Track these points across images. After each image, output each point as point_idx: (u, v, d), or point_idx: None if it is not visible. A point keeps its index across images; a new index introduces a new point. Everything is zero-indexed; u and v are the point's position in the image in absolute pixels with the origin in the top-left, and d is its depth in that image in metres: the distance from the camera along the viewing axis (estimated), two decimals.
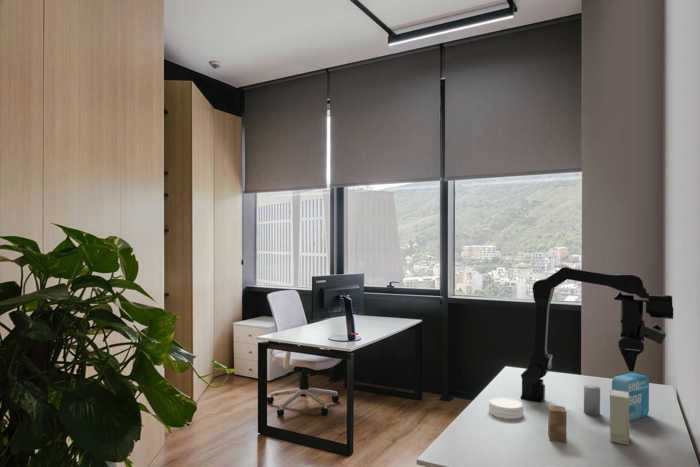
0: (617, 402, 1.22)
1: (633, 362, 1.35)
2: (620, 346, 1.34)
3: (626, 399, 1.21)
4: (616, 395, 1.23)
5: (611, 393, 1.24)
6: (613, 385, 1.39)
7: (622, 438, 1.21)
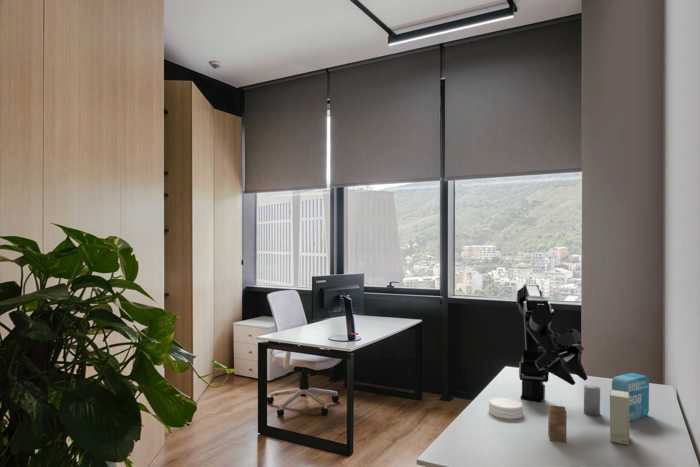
0: (617, 402, 1.22)
1: (566, 374, 1.31)
2: (538, 368, 1.33)
3: (626, 399, 1.21)
4: (616, 395, 1.23)
5: (611, 393, 1.24)
6: (613, 385, 1.39)
7: (622, 438, 1.21)
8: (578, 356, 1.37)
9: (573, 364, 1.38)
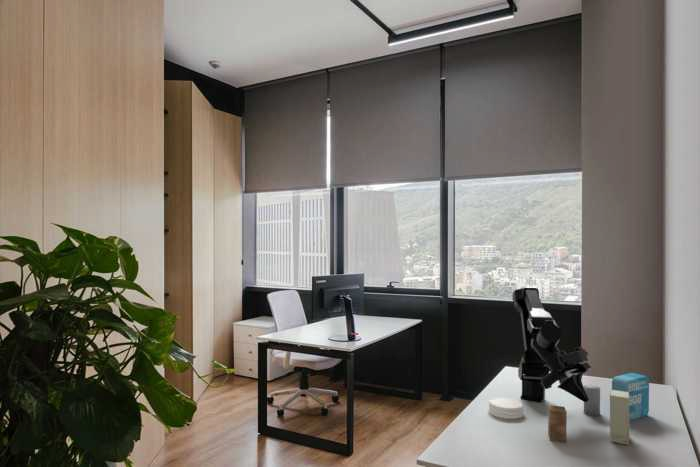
0: (617, 402, 1.22)
1: (579, 391, 1.31)
2: (545, 387, 1.31)
3: (626, 399, 1.21)
4: (616, 395, 1.23)
5: (611, 393, 1.24)
6: (613, 385, 1.39)
7: (622, 438, 1.21)
8: (579, 376, 1.34)
9: None
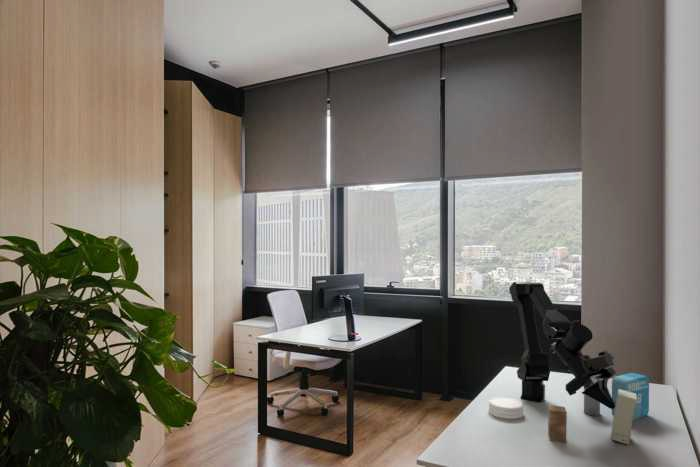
0: (624, 402, 1.21)
1: (605, 398, 1.26)
2: (569, 393, 1.25)
3: (634, 400, 1.20)
4: (624, 395, 1.22)
5: (619, 392, 1.23)
6: (613, 385, 1.39)
7: (623, 437, 1.21)
8: (604, 382, 1.28)
9: None
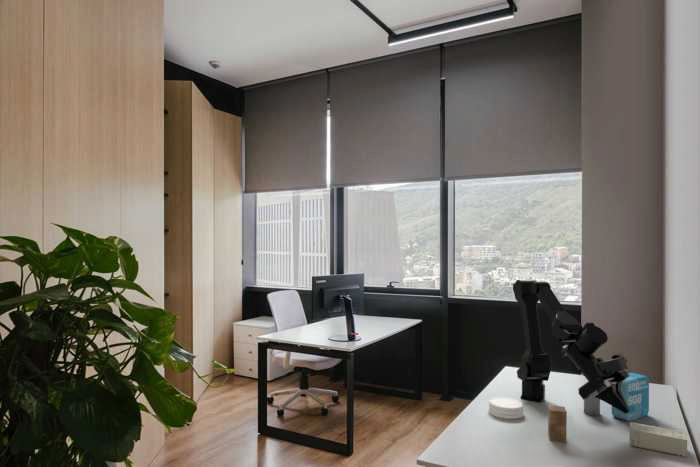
0: (679, 445, 1.15)
1: (619, 402, 1.23)
2: (582, 397, 1.23)
3: (685, 455, 1.14)
4: (686, 444, 1.15)
5: (686, 438, 1.16)
6: None
7: (636, 441, 1.19)
8: (618, 386, 1.25)
9: None
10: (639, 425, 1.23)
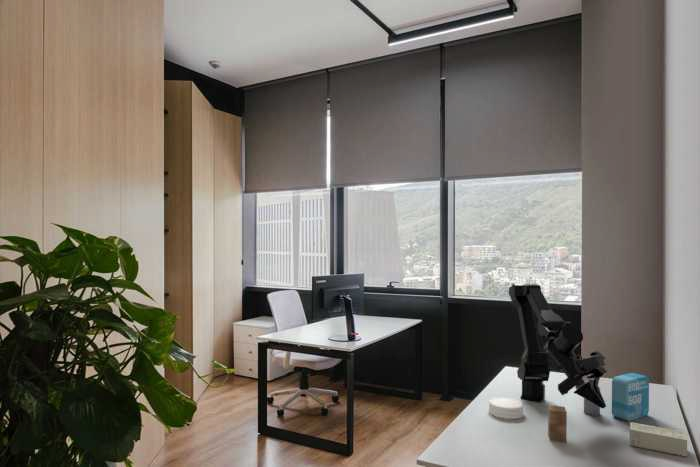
0: (679, 445, 1.15)
1: (596, 397, 1.28)
2: (561, 393, 1.27)
3: (685, 455, 1.14)
4: (686, 444, 1.15)
5: (686, 438, 1.16)
6: (613, 385, 1.39)
7: (636, 441, 1.19)
8: (596, 382, 1.30)
9: None
10: (639, 425, 1.23)
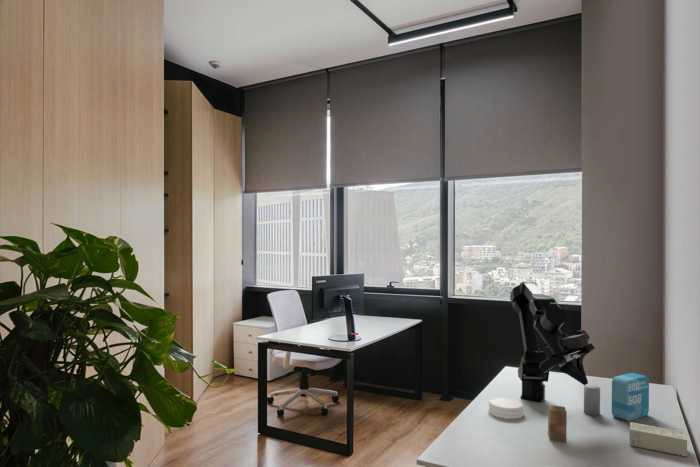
0: (679, 445, 1.15)
1: (578, 375, 1.32)
2: (542, 371, 1.33)
3: (685, 455, 1.14)
4: (686, 444, 1.15)
5: (686, 438, 1.16)
6: (613, 385, 1.39)
7: (636, 441, 1.19)
8: (579, 359, 1.34)
9: None
10: (639, 425, 1.23)
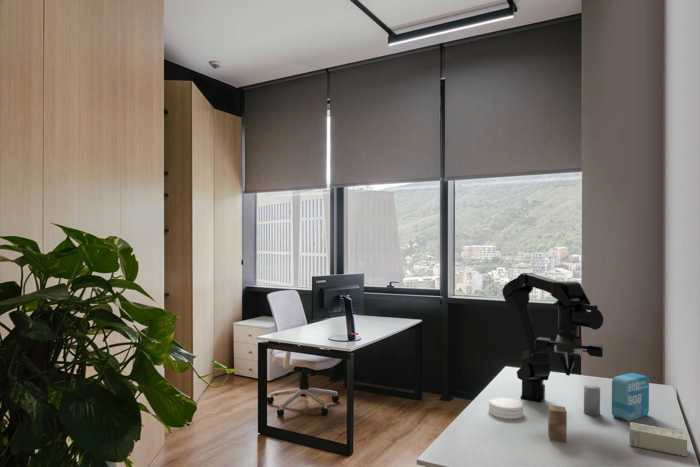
0: (679, 445, 1.15)
1: None
2: None
3: (685, 455, 1.14)
4: (686, 444, 1.15)
5: (686, 438, 1.16)
6: (613, 385, 1.39)
7: (636, 441, 1.19)
8: (570, 356, 1.38)
9: None
10: (639, 425, 1.23)
